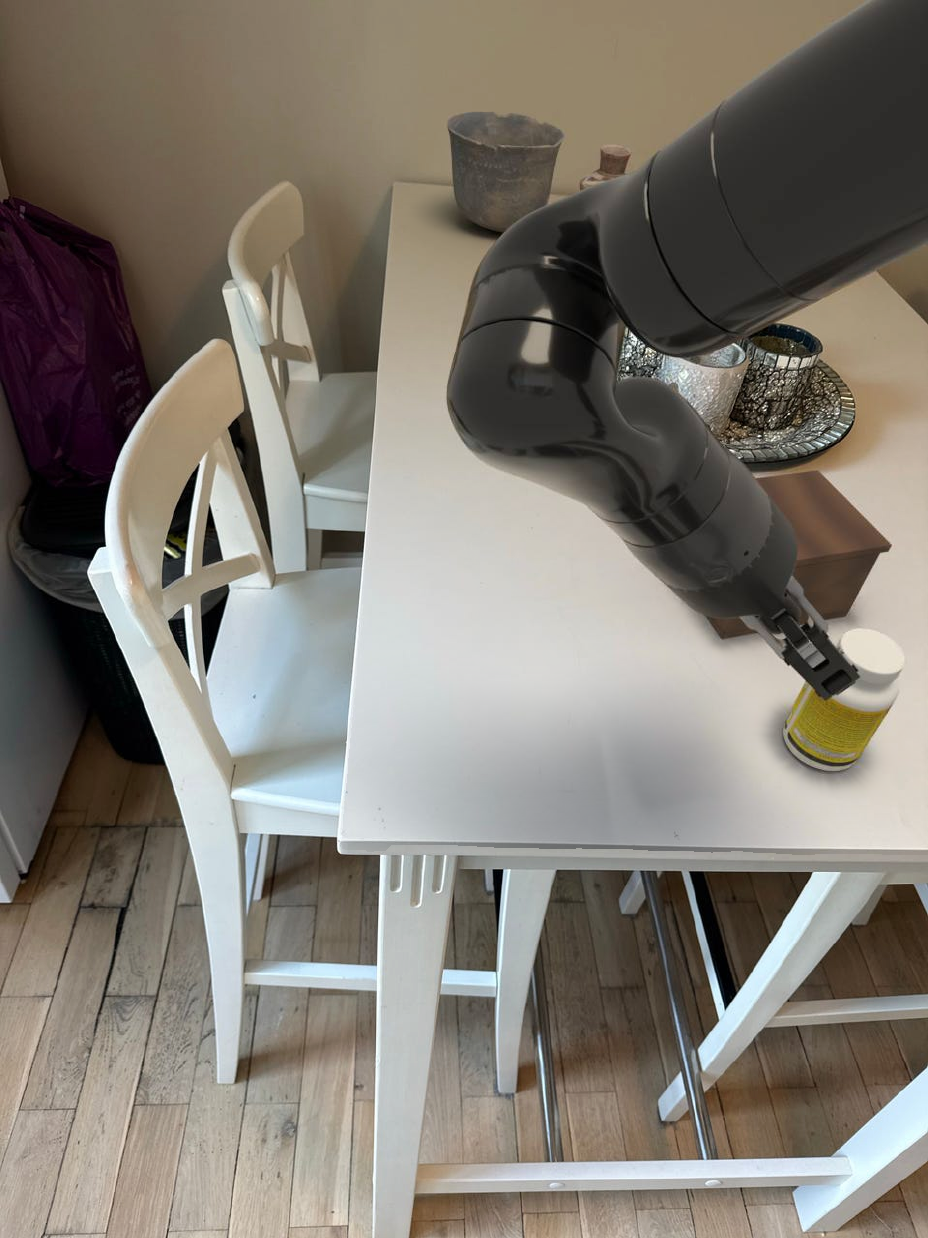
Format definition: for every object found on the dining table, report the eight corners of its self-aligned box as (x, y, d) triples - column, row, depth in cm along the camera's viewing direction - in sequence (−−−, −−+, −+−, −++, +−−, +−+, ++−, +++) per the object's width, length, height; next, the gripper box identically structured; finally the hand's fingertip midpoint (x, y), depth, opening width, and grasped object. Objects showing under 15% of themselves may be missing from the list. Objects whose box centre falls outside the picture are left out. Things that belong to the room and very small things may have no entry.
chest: (781, 539, 91) (807, 477, 86) (846, 616, 83) (880, 553, 78) (664, 557, 88) (684, 494, 82) (721, 639, 80) (747, 575, 74)
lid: (815, 476, 86) (818, 469, 85) (888, 551, 78) (892, 544, 78) (684, 493, 82) (686, 486, 82) (747, 574, 74) (750, 567, 74)
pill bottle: (867, 776, 70) (929, 685, 62) (791, 771, 70) (844, 679, 62) (844, 716, 74) (900, 623, 67) (773, 711, 74) (820, 617, 66)
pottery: (574, 210, 154) (586, 135, 146) (716, 228, 154) (736, 154, 145) (572, 234, 146) (584, 156, 138) (722, 253, 146) (744, 176, 137)
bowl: (474, 254, 137) (483, 150, 127) (423, 213, 148) (427, 114, 137) (568, 240, 144) (584, 140, 134) (513, 202, 155) (523, 106, 144)
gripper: (834, 566, 43) (921, 680, 54) (696, 413, 53) (794, 536, 64) (710, 658, 46) (818, 749, 57) (599, 495, 55) (710, 601, 66)
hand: (805, 636), depth 60 cm, fingers open, 8 cm apart
